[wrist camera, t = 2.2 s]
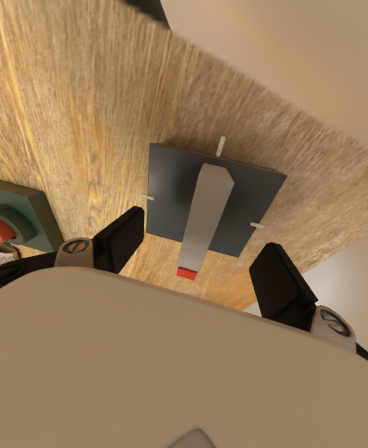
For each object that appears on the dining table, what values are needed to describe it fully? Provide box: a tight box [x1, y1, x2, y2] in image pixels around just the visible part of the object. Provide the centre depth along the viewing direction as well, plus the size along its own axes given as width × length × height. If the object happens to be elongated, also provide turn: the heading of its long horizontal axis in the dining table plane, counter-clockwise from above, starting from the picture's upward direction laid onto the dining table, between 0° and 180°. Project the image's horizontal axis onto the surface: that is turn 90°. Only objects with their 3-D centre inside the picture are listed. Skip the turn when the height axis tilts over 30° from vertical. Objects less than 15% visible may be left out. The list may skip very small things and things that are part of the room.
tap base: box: [142, 136, 287, 258], centre depth 15 cm, size 13×13×3 cm
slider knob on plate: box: [175, 163, 234, 280], centre depth 12 cm, size 9×2×5 cm, turn 169°
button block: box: [0, 181, 64, 253], centre depth 22 cm, size 12×10×4 cm
